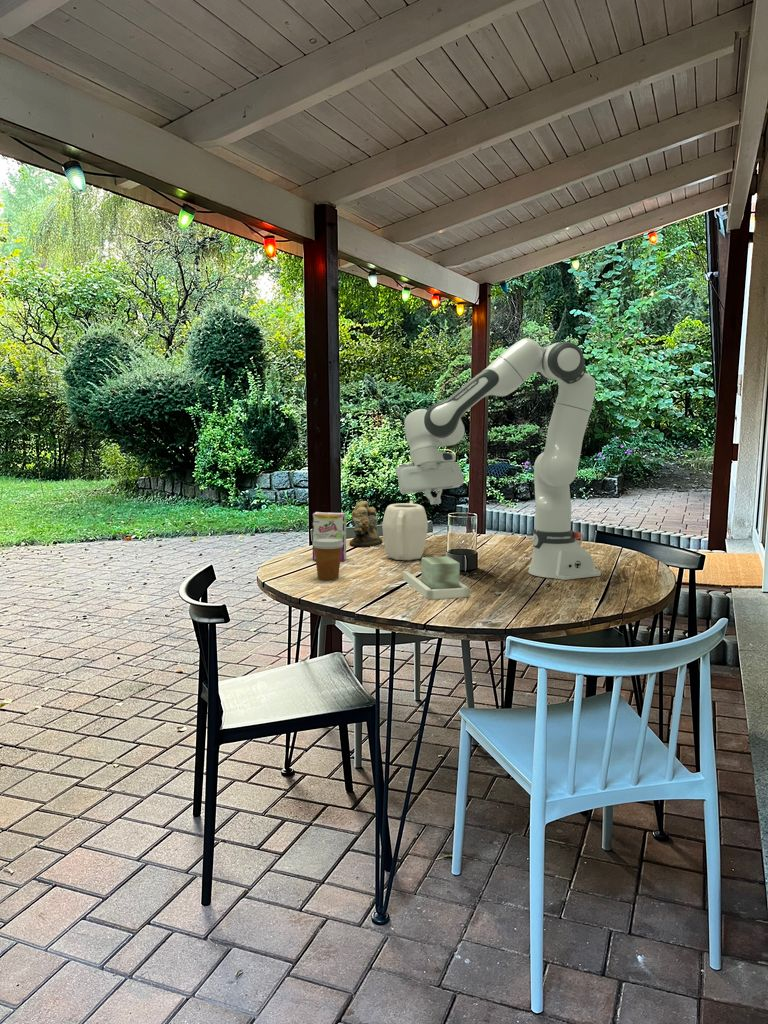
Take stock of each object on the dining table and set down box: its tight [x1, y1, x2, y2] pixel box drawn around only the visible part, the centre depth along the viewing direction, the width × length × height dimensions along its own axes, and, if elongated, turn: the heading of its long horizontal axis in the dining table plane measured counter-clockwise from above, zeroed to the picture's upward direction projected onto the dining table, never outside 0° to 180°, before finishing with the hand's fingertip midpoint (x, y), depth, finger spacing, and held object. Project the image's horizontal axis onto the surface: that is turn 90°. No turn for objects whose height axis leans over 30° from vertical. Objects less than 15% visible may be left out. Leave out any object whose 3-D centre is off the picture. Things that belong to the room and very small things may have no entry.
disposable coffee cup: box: [312, 537, 344, 581], centre depth 221 cm, size 10×10×12 cm
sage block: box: [420, 555, 461, 589], centre depth 204 cm, size 8×10×9 cm
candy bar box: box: [312, 511, 347, 562], centre depth 248 cm, size 11×5×16 cm, turn 84°
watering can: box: [381, 499, 429, 561], centre depth 253 cm, size 16×27×19 cm, turn 169°
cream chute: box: [402, 570, 471, 600], centre depth 209 cm, size 12×26×2 cm, turn 14°
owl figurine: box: [349, 500, 383, 548], centre depth 279 cm, size 18×12×17 cm, turn 162°
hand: (436, 503), depth 217 cm, fingers closed
